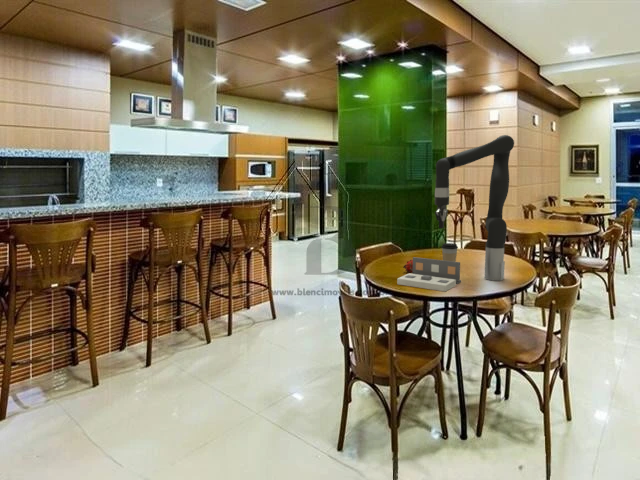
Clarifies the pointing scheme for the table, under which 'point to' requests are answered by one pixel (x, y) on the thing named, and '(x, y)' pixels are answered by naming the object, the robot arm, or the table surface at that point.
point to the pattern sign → (437, 268)
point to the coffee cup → (449, 252)
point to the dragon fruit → (409, 266)
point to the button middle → (426, 277)
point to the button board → (426, 282)
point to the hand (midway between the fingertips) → (441, 228)
